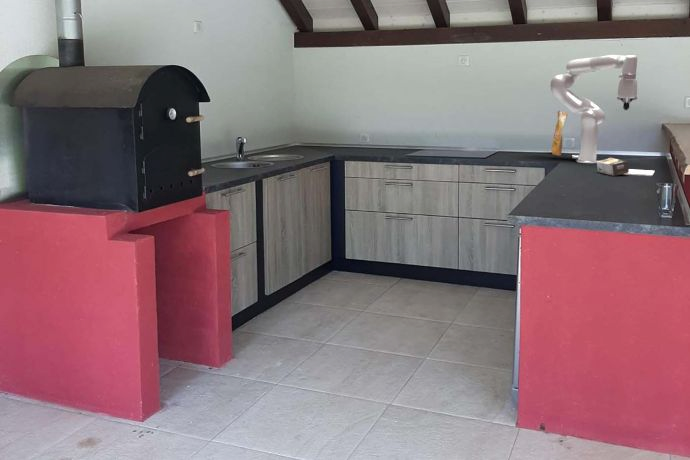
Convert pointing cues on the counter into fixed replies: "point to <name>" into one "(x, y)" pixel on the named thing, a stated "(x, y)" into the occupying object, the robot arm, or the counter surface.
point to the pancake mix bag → (558, 133)
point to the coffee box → (613, 166)
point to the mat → (640, 172)
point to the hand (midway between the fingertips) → (626, 109)
